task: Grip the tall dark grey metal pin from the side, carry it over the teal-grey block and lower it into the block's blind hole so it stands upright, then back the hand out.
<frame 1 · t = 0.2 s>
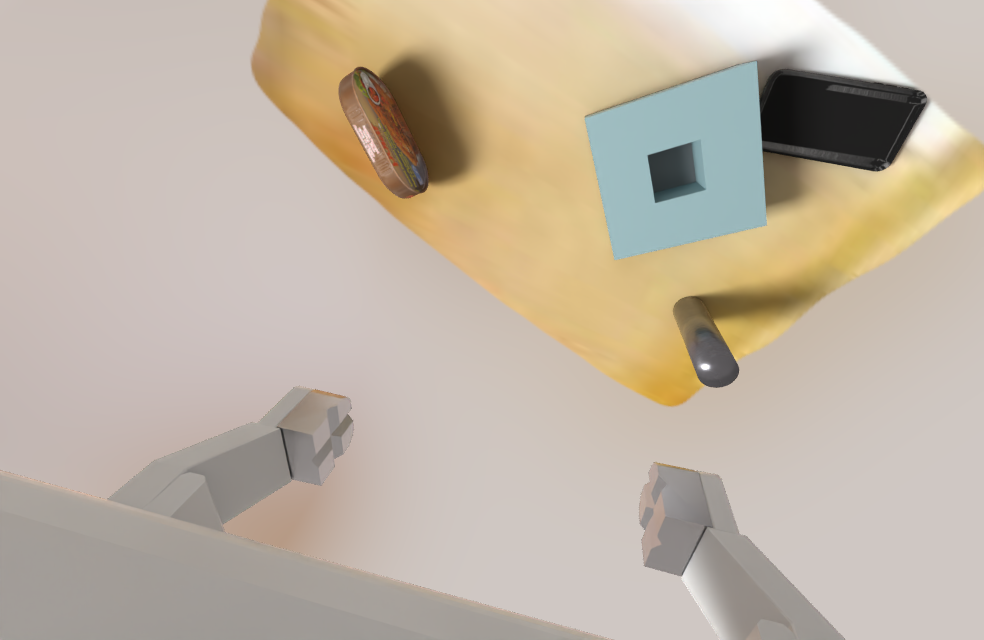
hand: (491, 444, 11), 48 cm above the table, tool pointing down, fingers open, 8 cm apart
pin: (688, 310, 58), on the table
phone: (826, 120, 46), on the table
hole block: (667, 164, 51), on the table
tin: (399, 134, 55), on the table
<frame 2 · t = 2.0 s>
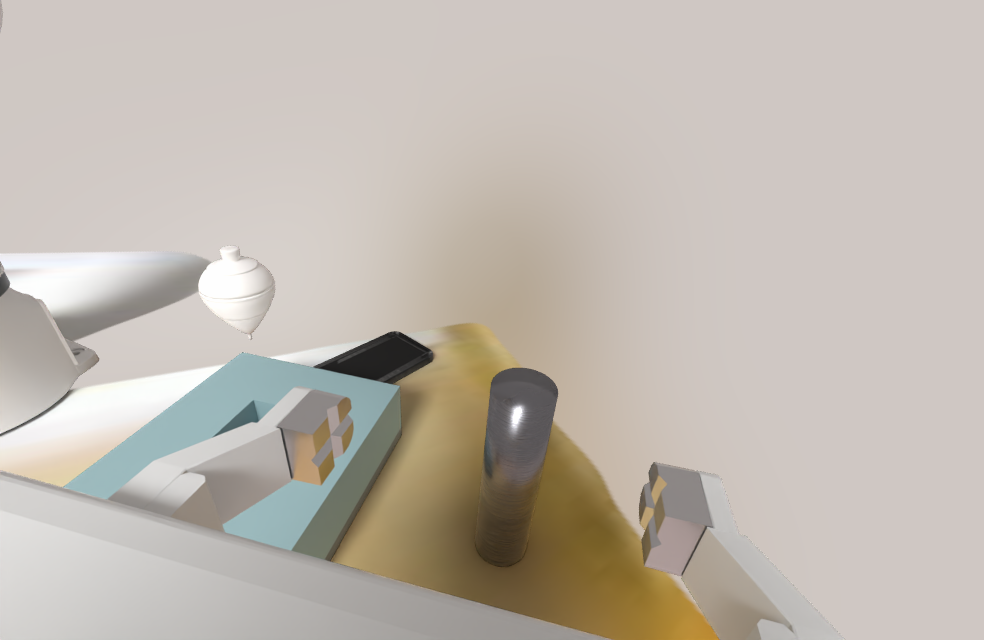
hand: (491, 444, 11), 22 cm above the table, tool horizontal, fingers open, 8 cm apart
pin: (500, 540, 33), on the table
phone: (366, 374, 50), on the table
hole block: (273, 480, 36), on the table
spinning top: (250, 340, 53), on the table
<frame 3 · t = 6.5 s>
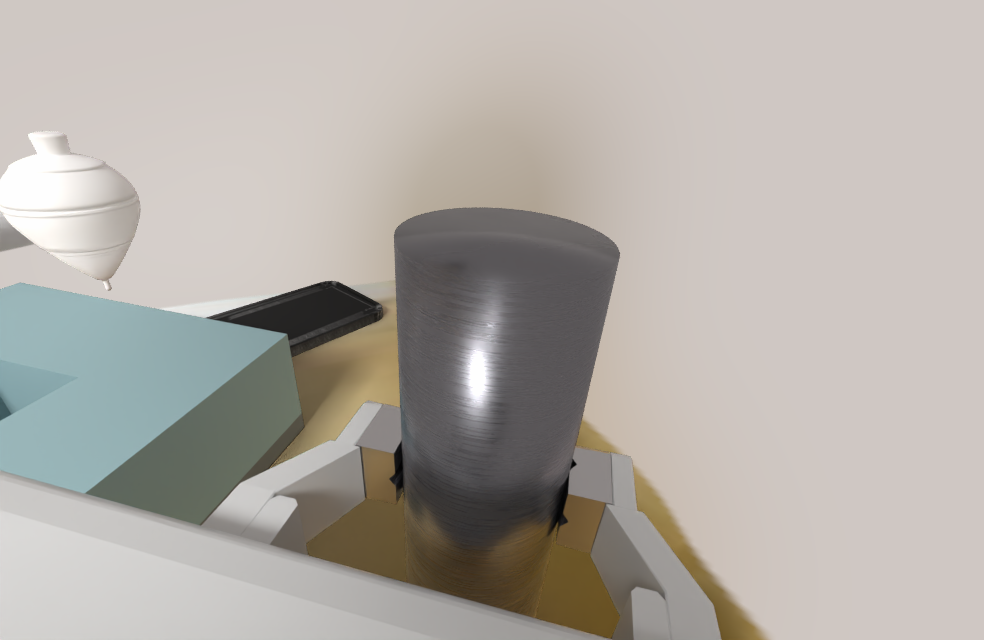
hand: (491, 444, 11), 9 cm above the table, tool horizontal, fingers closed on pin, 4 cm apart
phone: (275, 337, 32), on the table
hole block: (18, 516, 18), on the table
spinning top: (110, 292, 35), on the table
when the fingers open (11 cm above the table, at t = 12.3 s): pin stays where it is, resting on hole block.
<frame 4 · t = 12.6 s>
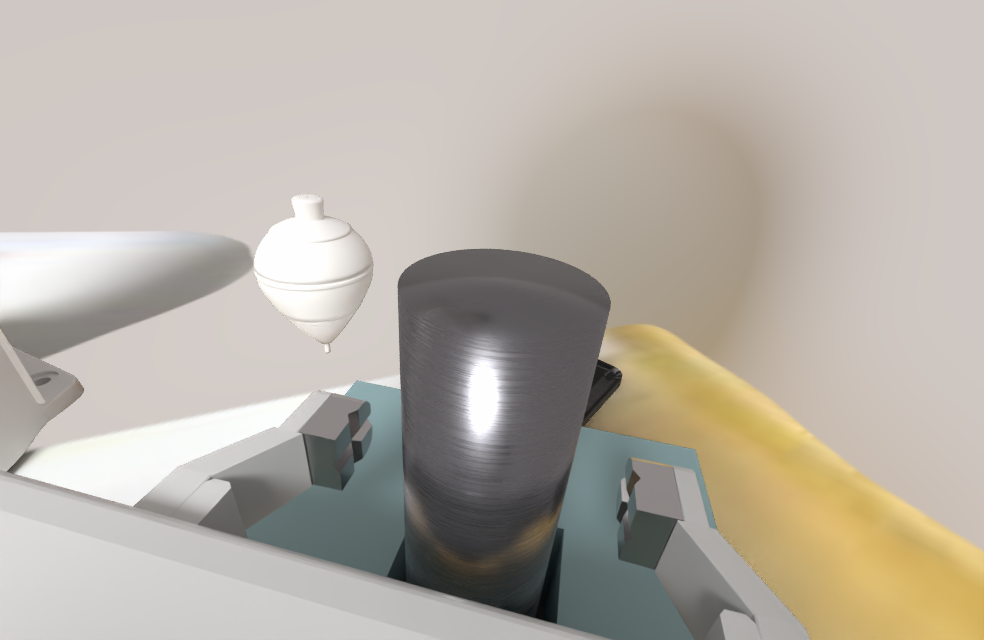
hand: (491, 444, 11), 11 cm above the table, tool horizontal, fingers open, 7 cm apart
phone: (528, 409, 30), on the table
spinning top: (328, 354, 33), on the table
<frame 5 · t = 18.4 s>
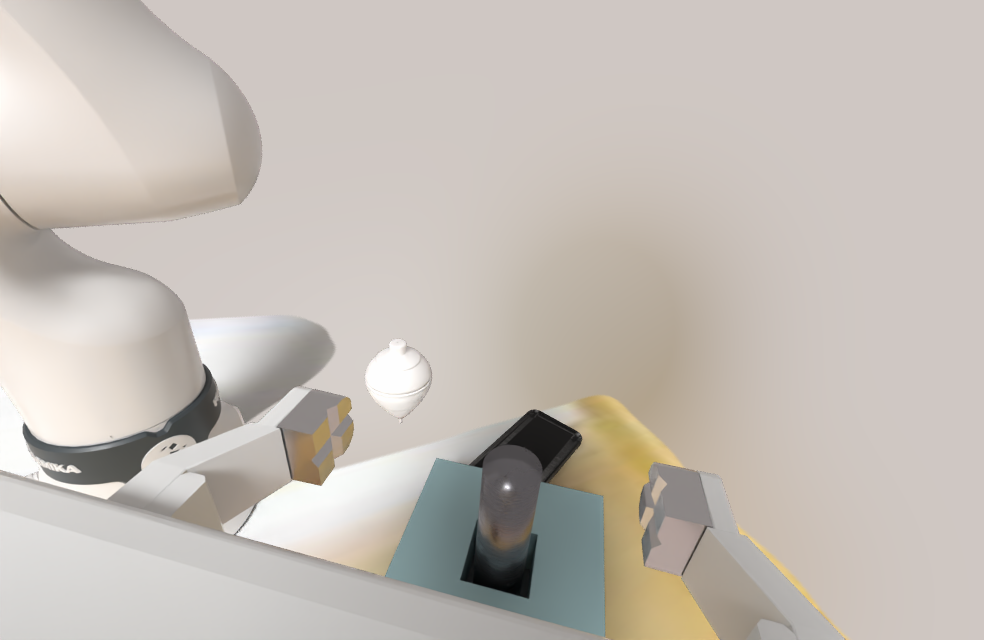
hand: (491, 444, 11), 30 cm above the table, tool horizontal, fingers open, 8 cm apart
pin: (495, 592, 36), point 1 cm above the table, touching hole block
phone: (524, 461, 51), on the table
hole block: (494, 598, 36), on the table
spinning top: (400, 424, 54), on the table
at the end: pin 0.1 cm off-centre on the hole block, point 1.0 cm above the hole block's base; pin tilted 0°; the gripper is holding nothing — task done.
